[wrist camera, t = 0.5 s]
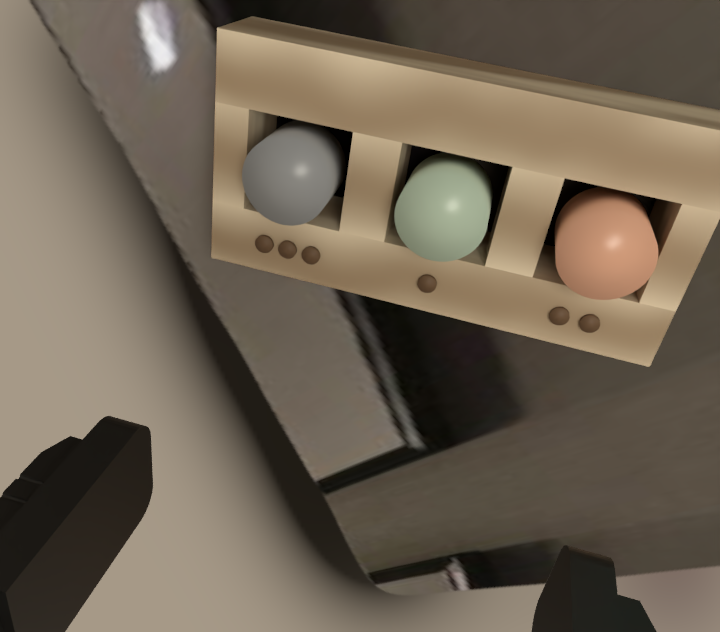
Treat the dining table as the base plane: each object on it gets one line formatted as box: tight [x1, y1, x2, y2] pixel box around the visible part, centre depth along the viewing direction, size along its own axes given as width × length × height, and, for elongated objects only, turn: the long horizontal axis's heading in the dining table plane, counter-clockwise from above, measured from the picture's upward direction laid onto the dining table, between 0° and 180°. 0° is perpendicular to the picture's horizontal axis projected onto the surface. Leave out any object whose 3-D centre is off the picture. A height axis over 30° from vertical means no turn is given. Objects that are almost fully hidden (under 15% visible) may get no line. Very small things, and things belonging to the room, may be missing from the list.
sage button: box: [394, 152, 493, 262], centre depth 30 cm, size 4×4×3 cm
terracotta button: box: [555, 187, 658, 300], centre depth 29 cm, size 4×4×3 cm
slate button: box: [242, 120, 346, 226], centre depth 30 cm, size 4×4×3 cm
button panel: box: [211, 16, 720, 367], centre depth 31 cm, size 11×22×4 cm, turn 82°
